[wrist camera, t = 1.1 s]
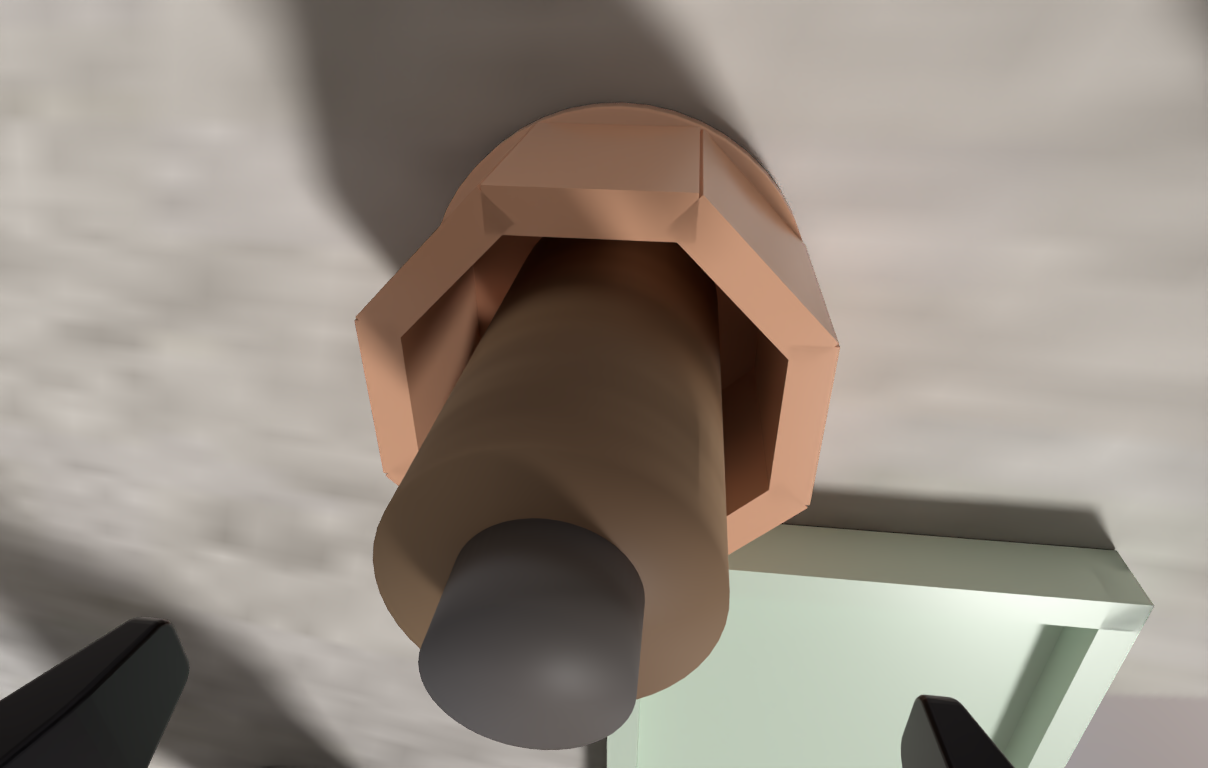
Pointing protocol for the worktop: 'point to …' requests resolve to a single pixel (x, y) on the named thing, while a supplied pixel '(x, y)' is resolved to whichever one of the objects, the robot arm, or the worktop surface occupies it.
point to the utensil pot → (622, 212)
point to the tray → (893, 651)
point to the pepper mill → (569, 500)
